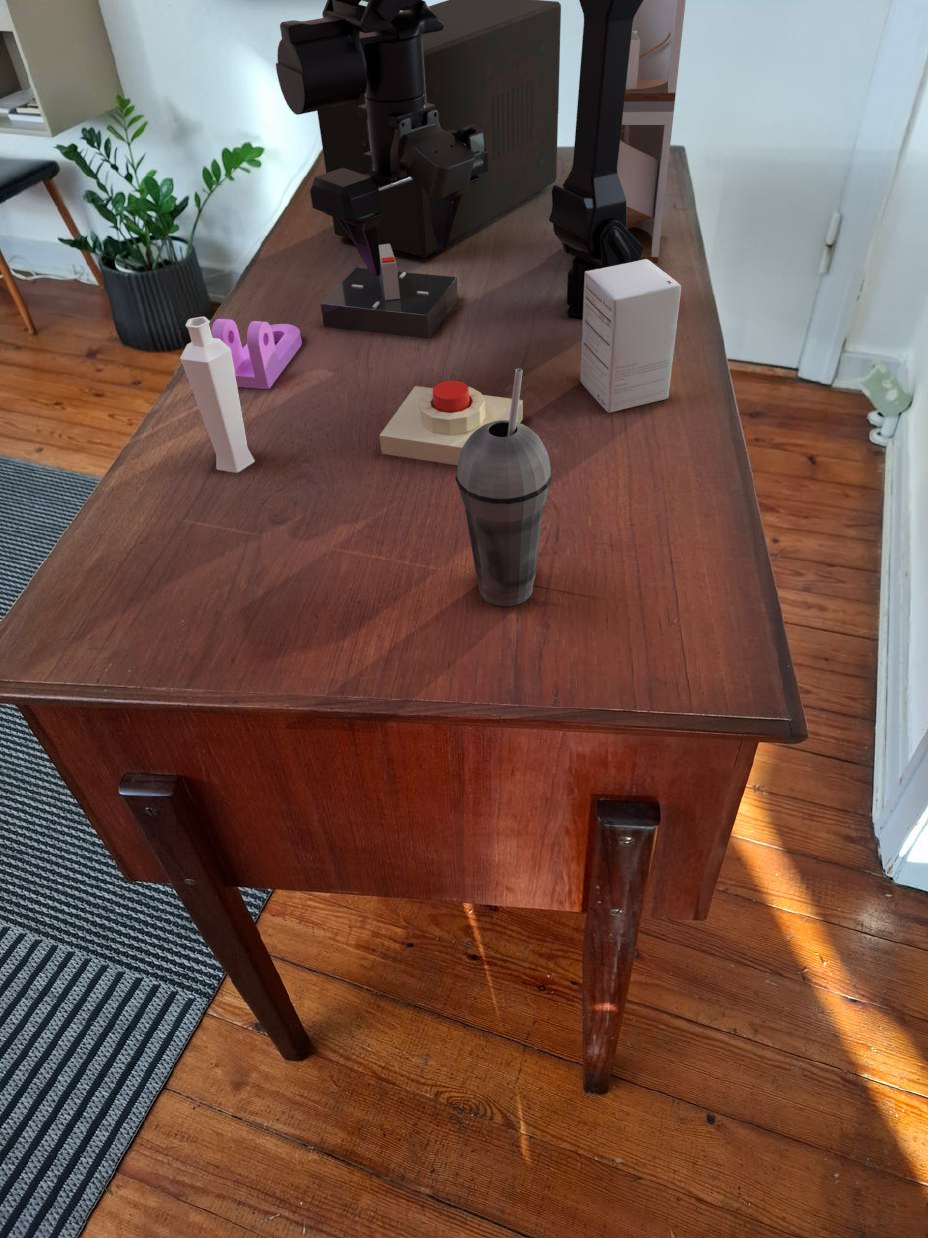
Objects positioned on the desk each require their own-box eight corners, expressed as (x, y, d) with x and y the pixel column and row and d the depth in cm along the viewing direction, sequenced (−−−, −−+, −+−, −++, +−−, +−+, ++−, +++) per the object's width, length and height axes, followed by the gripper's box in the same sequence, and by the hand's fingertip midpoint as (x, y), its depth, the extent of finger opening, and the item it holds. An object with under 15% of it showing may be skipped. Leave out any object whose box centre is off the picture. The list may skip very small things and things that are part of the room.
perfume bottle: (266, 452, 92) (232, 312, 81) (245, 476, 89) (207, 334, 78) (227, 446, 93) (189, 307, 82) (205, 469, 90) (163, 329, 79)
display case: (581, 237, 128) (595, -69, 104) (657, 238, 126) (689, -72, 102) (576, 270, 120) (590, -53, 96) (656, 272, 118) (691, -56, 94)
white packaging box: (638, 368, 100) (649, 256, 91) (669, 400, 95) (684, 284, 86) (577, 382, 99) (582, 269, 90) (606, 414, 94) (614, 298, 85)
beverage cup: (459, 564, 77) (445, 350, 64) (542, 556, 78) (546, 342, 64) (466, 622, 72) (452, 403, 58) (556, 613, 72) (563, 393, 59)
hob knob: (379, 280, 113) (375, 242, 110) (393, 278, 113) (389, 241, 110) (385, 300, 109) (381, 262, 106) (400, 298, 109) (396, 260, 106)
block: (522, 418, 94) (522, 384, 91) (494, 471, 87) (493, 436, 84) (416, 403, 97) (413, 370, 94) (381, 453, 90) (377, 419, 88)
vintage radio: (467, 164, 153) (460, -12, 136) (564, 183, 144) (570, -3, 127) (318, 239, 132) (288, 42, 115) (422, 266, 123) (406, 57, 106)
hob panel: (458, 299, 115) (456, 275, 113) (428, 338, 108) (426, 313, 106) (359, 289, 119) (356, 265, 117) (324, 326, 112) (319, 302, 109)
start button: (474, 398, 90) (473, 382, 89) (462, 416, 88) (462, 401, 87) (440, 393, 91) (439, 378, 90) (428, 411, 89) (427, 396, 88)
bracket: (268, 389, 101) (256, 331, 96) (223, 385, 102) (208, 328, 97) (308, 335, 110) (298, 280, 105) (266, 333, 111) (254, 277, 106)
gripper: (372, 133, 74) (391, 313, 85) (527, 85, 83) (526, 253, 94) (294, 110, 80) (320, 281, 91) (446, 67, 89) (454, 228, 100)
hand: (409, 261), depth 94 cm, fingers open, 9 cm apart
